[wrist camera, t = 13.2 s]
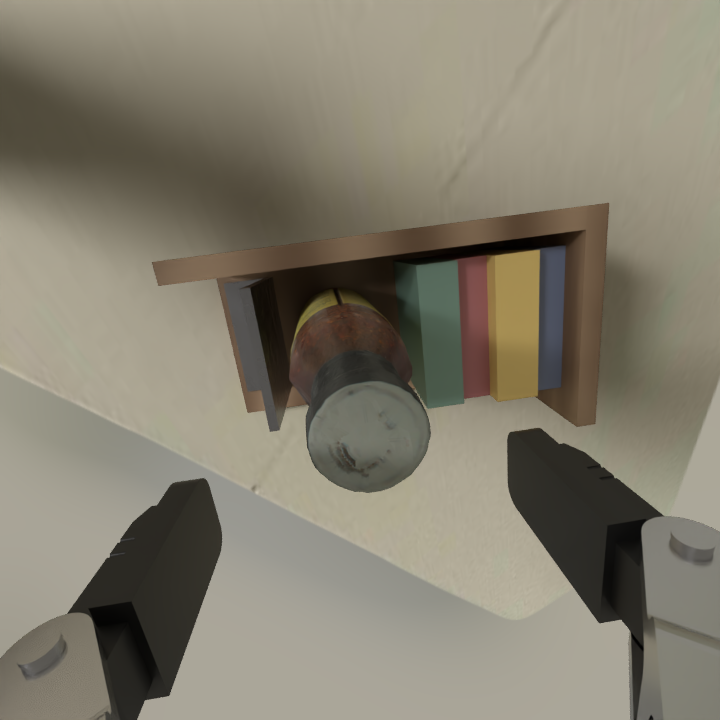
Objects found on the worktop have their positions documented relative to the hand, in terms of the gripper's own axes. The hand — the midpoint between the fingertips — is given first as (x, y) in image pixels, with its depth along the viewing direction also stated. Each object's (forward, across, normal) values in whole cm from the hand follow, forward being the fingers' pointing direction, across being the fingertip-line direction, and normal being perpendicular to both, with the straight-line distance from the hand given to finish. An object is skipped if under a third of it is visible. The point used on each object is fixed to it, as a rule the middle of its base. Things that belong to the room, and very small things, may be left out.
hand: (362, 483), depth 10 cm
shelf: (+23, -3, 0) cm, 24 cm away
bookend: (+22, +7, 0) cm, 23 cm away
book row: (+22, -9, 0) cm, 24 cm away
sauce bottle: (+22, 0, 0) cm, 22 cm away
